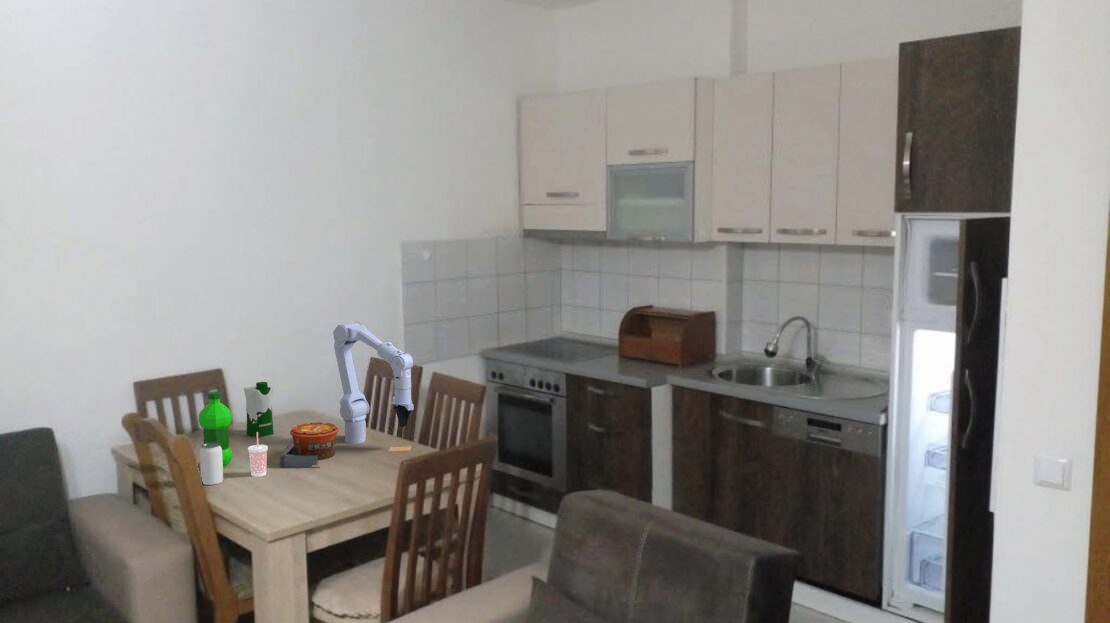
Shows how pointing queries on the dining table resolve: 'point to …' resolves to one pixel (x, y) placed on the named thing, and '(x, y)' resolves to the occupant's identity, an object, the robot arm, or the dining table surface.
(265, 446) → the beverage cup
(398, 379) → the robot arm
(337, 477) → the dining table surface
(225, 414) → the plastic bottle
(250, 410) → the milk carton
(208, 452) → the can
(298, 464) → the tray
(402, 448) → the latch flap
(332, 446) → the food container
